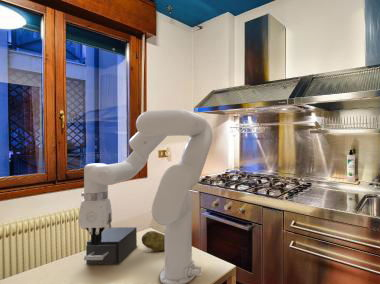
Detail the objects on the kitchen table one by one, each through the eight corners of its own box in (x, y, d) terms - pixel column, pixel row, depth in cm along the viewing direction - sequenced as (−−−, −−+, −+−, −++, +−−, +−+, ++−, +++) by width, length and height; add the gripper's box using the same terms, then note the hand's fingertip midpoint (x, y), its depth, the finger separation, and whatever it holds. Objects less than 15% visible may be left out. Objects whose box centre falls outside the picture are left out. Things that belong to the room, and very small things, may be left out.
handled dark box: (108, 270, 84) (108, 251, 84) (77, 271, 84) (77, 251, 84) (132, 247, 102) (132, 231, 102) (107, 247, 102) (107, 231, 102)
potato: (165, 255, 97) (165, 236, 97) (138, 252, 99) (138, 234, 99) (175, 246, 106) (175, 229, 105) (149, 244, 108) (149, 227, 107)
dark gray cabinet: (118, 264, 90) (118, 241, 90) (87, 264, 90) (86, 241, 90) (136, 246, 105) (136, 227, 105) (109, 246, 105) (109, 227, 104)
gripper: (68, 198, 82) (68, 248, 83) (110, 198, 83) (110, 248, 83) (83, 193, 90) (83, 239, 90) (121, 193, 90) (121, 239, 90)
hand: (96, 243), depth 87 cm, fingers closed
